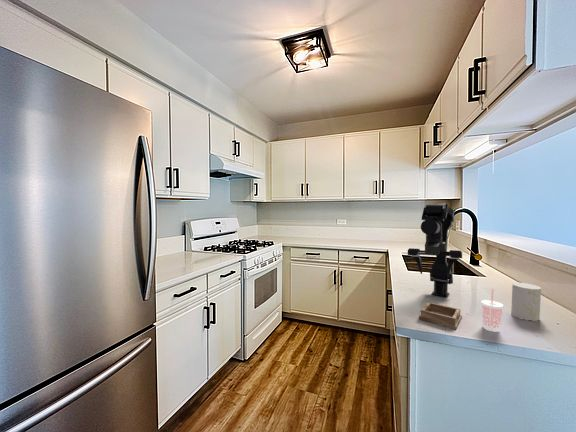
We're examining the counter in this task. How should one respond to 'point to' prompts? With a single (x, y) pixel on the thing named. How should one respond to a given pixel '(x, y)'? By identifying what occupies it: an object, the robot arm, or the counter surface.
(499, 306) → the beverage cup
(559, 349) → the counter surface
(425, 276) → the counter surface
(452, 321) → the tray
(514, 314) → the grey upright cylinder
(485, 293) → the counter surface
